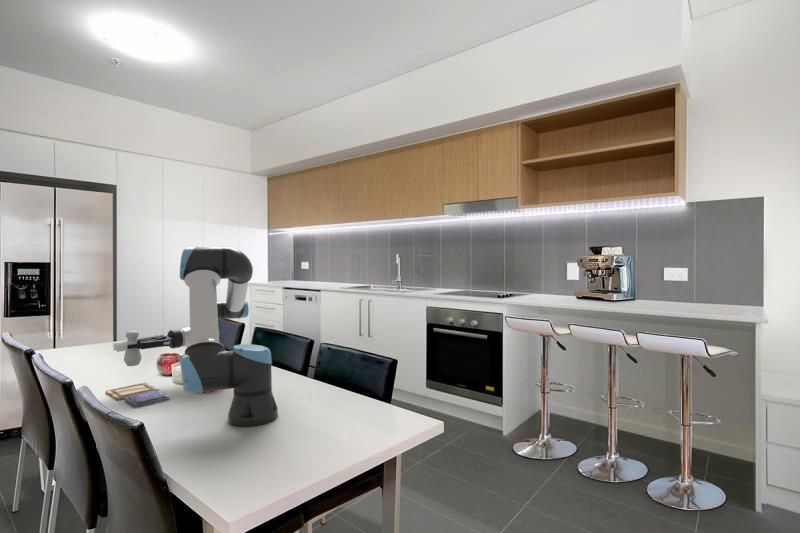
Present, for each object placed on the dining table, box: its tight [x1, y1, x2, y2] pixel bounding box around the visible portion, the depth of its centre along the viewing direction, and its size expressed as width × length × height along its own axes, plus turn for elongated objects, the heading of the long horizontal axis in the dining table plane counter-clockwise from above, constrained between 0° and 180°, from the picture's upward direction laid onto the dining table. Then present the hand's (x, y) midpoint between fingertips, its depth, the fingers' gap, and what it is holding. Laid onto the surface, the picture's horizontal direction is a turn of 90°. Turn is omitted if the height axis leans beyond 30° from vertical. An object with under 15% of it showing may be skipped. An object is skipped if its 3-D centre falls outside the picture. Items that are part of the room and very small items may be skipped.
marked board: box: [105, 382, 160, 401], centre depth 170 cm, size 14×14×1 cm
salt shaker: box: [123, 330, 142, 367], centre depth 169 cm, size 6×6×13 cm
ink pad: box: [124, 390, 170, 409], centre depth 160 cm, size 11×11×2 cm
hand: (115, 347), depth 165 cm, fingers closed on salt shaker, 3 cm apart
